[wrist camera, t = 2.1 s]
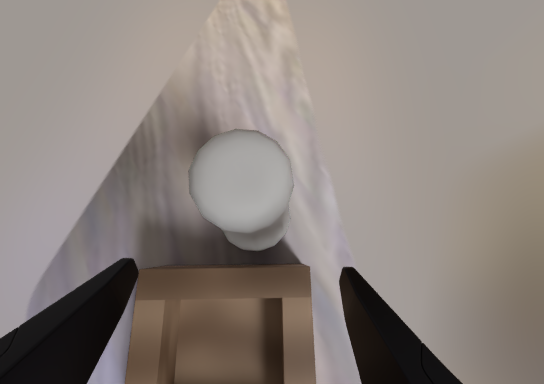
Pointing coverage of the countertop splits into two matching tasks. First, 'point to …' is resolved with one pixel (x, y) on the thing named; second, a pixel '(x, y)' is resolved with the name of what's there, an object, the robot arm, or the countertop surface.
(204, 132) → the countertop surface
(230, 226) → the salt shaker
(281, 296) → the socket block
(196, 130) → the countertop surface
